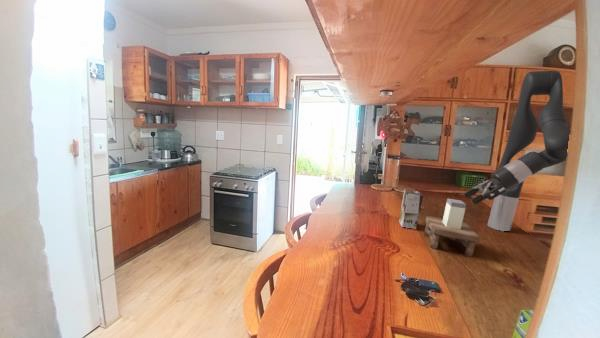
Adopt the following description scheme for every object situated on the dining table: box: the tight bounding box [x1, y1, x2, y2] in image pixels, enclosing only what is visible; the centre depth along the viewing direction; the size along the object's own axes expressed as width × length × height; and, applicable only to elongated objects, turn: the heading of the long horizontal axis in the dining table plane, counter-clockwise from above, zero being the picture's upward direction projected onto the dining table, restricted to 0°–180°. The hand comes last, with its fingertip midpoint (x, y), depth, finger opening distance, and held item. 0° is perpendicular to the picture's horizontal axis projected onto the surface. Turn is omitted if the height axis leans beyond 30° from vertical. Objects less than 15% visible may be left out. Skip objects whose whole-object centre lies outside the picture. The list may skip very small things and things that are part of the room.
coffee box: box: [398, 188, 424, 230], centre depth 119 cm, size 9×6×16 cm
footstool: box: [423, 215, 480, 258], centre depth 103 cm, size 15×15×8 cm
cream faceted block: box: [442, 198, 467, 229], centre depth 102 cm, size 6×5×10 cm
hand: (468, 199), depth 100 cm, fingers open, 8 cm apart
